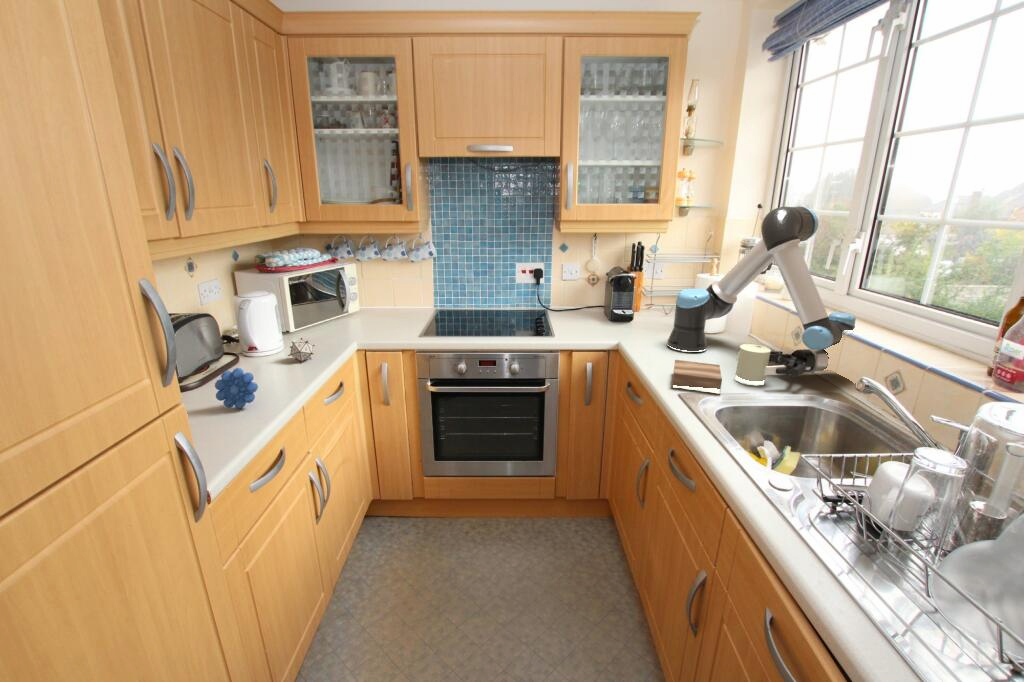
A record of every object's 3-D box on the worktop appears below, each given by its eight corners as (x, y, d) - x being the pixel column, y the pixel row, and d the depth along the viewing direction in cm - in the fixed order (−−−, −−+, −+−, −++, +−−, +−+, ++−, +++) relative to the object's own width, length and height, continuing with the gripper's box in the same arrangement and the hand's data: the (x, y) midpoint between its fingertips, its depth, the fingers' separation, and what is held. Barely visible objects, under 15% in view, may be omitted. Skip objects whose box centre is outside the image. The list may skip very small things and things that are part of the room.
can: (769, 381, 155) (775, 347, 152) (759, 388, 149) (765, 353, 146) (740, 374, 162) (746, 340, 158) (729, 380, 155) (735, 346, 152)
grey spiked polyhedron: (299, 372, 168) (279, 355, 162) (302, 357, 174) (282, 340, 168) (320, 360, 167) (301, 342, 161) (322, 346, 174) (303, 328, 167)
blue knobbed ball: (268, 402, 135) (262, 362, 131) (256, 412, 128) (249, 371, 125) (227, 402, 134) (220, 362, 131) (213, 412, 128) (205, 371, 124)
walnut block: (673, 373, 161) (675, 359, 160) (717, 379, 157) (719, 364, 155) (672, 388, 149) (673, 373, 147) (719, 394, 144) (722, 379, 143)
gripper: (836, 384, 146) (776, 388, 142) (779, 358, 169) (726, 361, 166) (841, 362, 144) (780, 365, 140) (782, 339, 167) (729, 341, 163)
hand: (751, 363), depth 153 cm, fingers open, 13 cm apart
